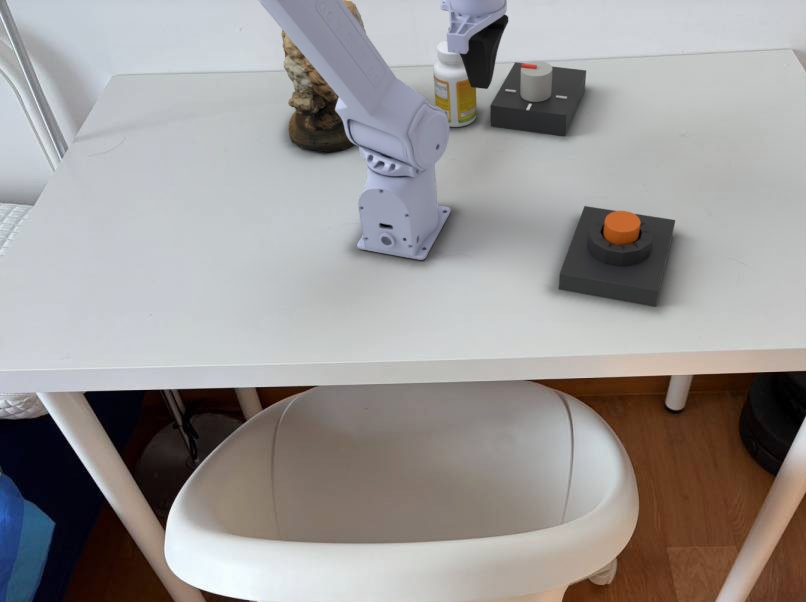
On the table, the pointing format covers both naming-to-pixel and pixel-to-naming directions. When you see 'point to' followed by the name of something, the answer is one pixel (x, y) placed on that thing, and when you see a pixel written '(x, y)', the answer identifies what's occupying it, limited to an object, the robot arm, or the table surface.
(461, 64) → the supplement bottle
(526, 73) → the timer dial
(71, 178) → the table surface
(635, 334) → the table surface
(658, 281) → the housing
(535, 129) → the timer panel
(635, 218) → the button
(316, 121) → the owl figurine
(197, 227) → the table surface
